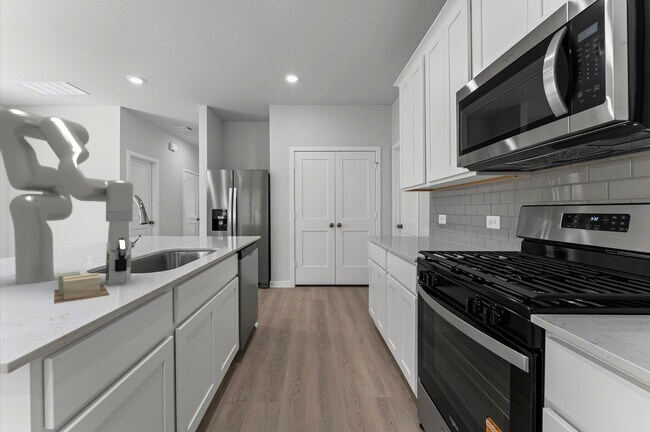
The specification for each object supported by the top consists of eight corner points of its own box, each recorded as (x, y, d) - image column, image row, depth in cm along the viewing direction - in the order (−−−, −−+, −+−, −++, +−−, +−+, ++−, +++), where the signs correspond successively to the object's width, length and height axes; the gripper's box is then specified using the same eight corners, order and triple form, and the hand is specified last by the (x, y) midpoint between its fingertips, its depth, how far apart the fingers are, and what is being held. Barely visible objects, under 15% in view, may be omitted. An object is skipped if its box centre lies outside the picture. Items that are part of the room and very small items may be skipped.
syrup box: (111, 281, 104) (112, 239, 104) (131, 280, 106) (131, 239, 106) (105, 285, 99) (105, 241, 98) (125, 284, 101) (126, 241, 100)
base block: (63, 293, 89) (62, 276, 89) (97, 288, 94) (96, 272, 94) (63, 299, 83) (63, 281, 83) (100, 294, 88) (99, 277, 88)
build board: (54, 294, 93) (54, 290, 93) (102, 288, 101) (102, 283, 101) (54, 309, 79) (53, 303, 79) (109, 300, 87) (109, 294, 87)
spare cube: (58, 289, 93) (58, 273, 93) (79, 286, 96) (79, 271, 96) (58, 293, 89) (58, 276, 89) (80, 290, 92) (80, 273, 92)
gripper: (102, 216, 106) (102, 266, 106) (109, 218, 93) (108, 275, 93) (128, 216, 111) (127, 264, 111) (137, 218, 98) (136, 272, 98)
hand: (118, 268), depth 102 cm, fingers closed on syrup box, 7 cm apart
